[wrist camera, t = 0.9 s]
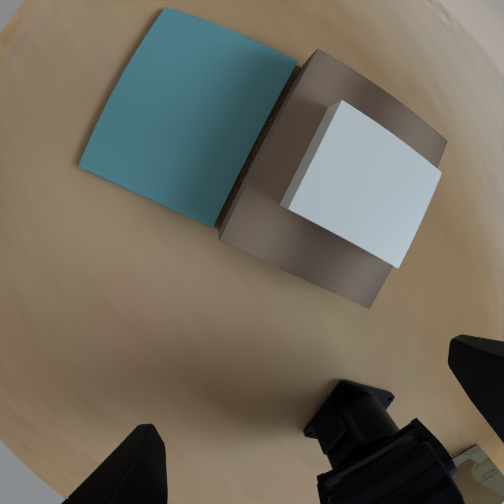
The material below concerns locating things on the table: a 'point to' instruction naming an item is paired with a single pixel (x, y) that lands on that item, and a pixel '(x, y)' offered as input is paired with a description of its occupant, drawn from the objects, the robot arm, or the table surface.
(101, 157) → the mat
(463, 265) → the table surface
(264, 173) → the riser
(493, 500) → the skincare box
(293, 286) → the table surface
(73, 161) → the table surface
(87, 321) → the table surface
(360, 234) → the tile
